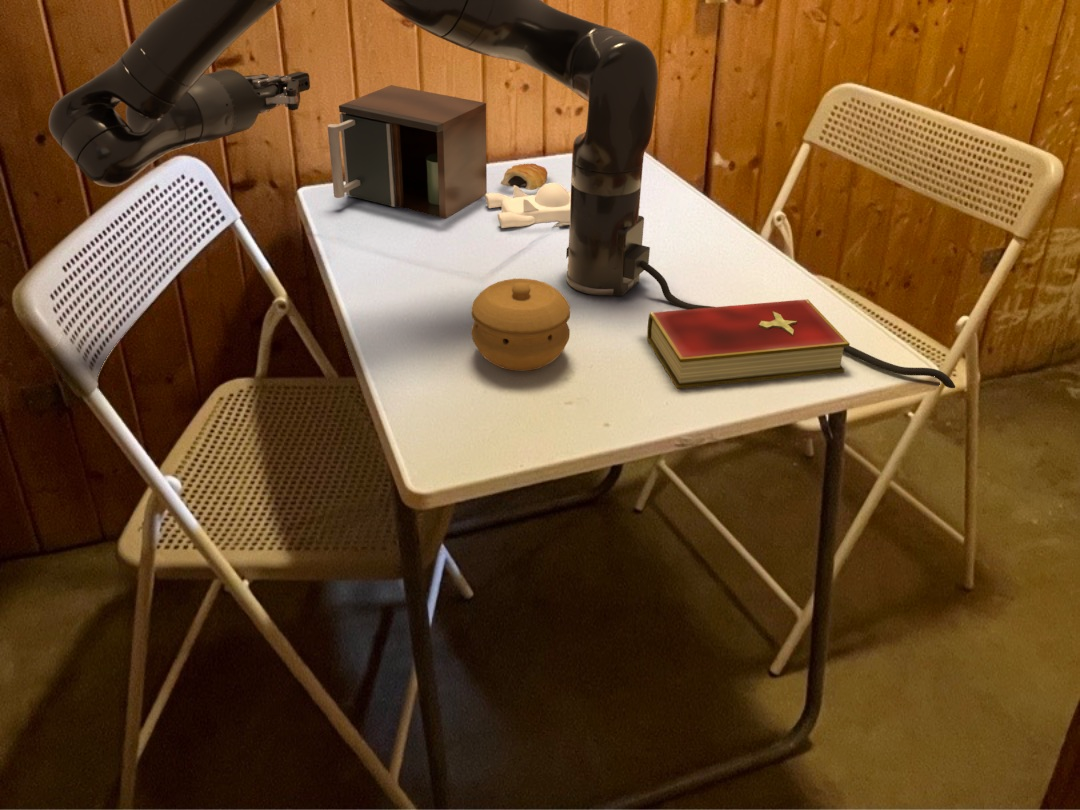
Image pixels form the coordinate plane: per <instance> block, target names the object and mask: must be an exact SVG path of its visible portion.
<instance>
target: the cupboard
mask: <svg viewBox="0 0 1080 810" xmlns="http://www.w3.org/2000/svg"><path fill="white" fill-rule="evenodd" d="M338 112H339V113H345V114H350V115H354V116H359V117H364V118H369V119H374V120H379V121H383V122H388V123H392V135H393V151H394V168H395V185H396V202H397V206H395V207H396V208H401V209H405V210H409V211H412V212H416V213H421V214H424V215H428V216H433V217H437V218H441V219H445V220H446V219H448V218H451V216H453V215H455V214H457V213H458V212H460V211H462V210H463V209H465V208H466V207H468V206H470V205H472V204H473V203H475V202H476V201H479V200H480V199H482V198H483V197H485V194H487V193H488V183H487V180H488V179H487V177H488V176H487V172H488V171H487V167H488V166H487V102H482V101H478V100H472V99H467V98H461V97H458V96H457V97H456V96H451V95H446V94H441V93H440V94H439V93H436V92H430V91H426V90H420V89H414V88H409V87H404V86H398V85H393V84H390V85H388V86H385V87H383V88H380V89H377V90H374V91H372V92H370V93H368V94H365V95H363V96H359V97H357V98H354V99H352V100H350V101H347V102H344V103H342V104H340V105H338ZM434 153H437V158H438V186H439V205H434V204H431V203H429V202H428V195H427V172H426V157H427V156H428V155H430V154H434Z"/></svg>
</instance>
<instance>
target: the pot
mask: <svg viewBox="0 0 1080 810" xmlns="http://www.w3.org/2000/svg"><path fill="white" fill-rule="evenodd" d="M570 310H571V306H570V304H569V302H568V300H567V299H566V297H565V296H564V295H563V294H562V292H560V291H559V290H558V289H556V288H555V287H553V286H552V285H550V284H548V283H545V282H543V281H540V280H536V279H531V278H510V279H504V280H501V281H497V282H495V283H493V284H490V285H489V286H487V287H486V288H484V289H483V290H482V291H481V292H480V293H478V295H477V296H476V298H475V299H474V300H473V302H472V306H471V317H472V320H473V321H474V322H473V324H472V327H471V330H470V333H471V334H470V335H471V338H472V342H473V344H474V345H475V347H476V349H477V350H478V351H479V353H480V354H481V356H483V358H484V359H486V360H487V361H489V362H490V363H491V364H493V365H495V366H497V367H499V368H501V369H505V370H511V371H519V372H520V371H533V370H537V369H540V368H543V367H545V366H547V365H549V364H551V363H552V362H553V361H554V360H556V359H557V358H558V357H559V356H560V355H561V354H562V352H563V351H564V349H565V348H566V346H567V344H568V343H569V340H570V334H571V333H570V332H571V330H570V329H571V328H570V327H569V324H568V321H569V320H570V318H571V311H570Z"/></svg>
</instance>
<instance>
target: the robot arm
mask: <svg viewBox="0 0 1080 810" xmlns="http://www.w3.org/2000/svg"><path fill="white" fill-rule="evenodd" d="M380 1H381V2H382V3H384V4H385V6H388V7H389V8H390V9H392V10H393V11H395V13H397V14H399V15H400V16H401V17H403V18H404V19H406V20H407V21H409V22H410V23H412V24H413V25H414V26H417V27H418V28H419V29H421V30H423V31H425V32H427V33H429V34H431V35H433V36H435V37H437V38H440V39H442V40H444V41H446V42H448V43H451V44H454V45H456V46H458V47H460V48H461V49H462V48H463V49H465V50H468V51H470V52H474V53H477V54H479V55H483V56H487V57H492V58H495V59H498V60H499V59H500V60H504V61H505V60H506V61H511V62H515V63H519V64H523V65H525V66H528V67H531V68H533V69H535V70H537V71H538V72H541V73H542V74H544V75H546V76H548V77H549V78H551V79H553V80H555V81H556V82H558V83H560V84H562V85H563V86H564V87H566V88H568V89H569V90H570V91H572V92H573V93H575V95H577V96H579V97H580V98H581V99H583V100H584V101H586V102H588V106H587V118H586V126H585V127H586V128H585V131H584V132H582V133H580V134H578V135H577V136H576V137H575V138H574V140H573V143H572V155H571V177H570V179H571V180H570V181H571V182H570V191H571V201H570V225H569V226H568V227H569V228H568V229H569V232H568V247H566V257H565V258H566V259H567V271H566V282H567V284H568V285H569V286H570V287H571V288H572V289H574V290H576V291H577V292H581V293H584V294H588V295H593V296H616V297H623V296H624V295H625V294H626V293H627V292H628V291H629V290H631V289H632V288H633V287H634V286H635V285H636V284H637V283H638V282H639V281H640V275H641V274H642V273H643V272H644V271H645V272H646V273H647V274H649V275H650V276H651V277H652V278H654V280H655V281H656V282H657V283H658V284H659V286H660V289H661V292H662V294H663V296H664V298H665V300H667V301H668V302H669V303H670V304H672V305H673V306H675V307H677V308H678V307H679V308H681V309H683V310H688V309H699V308H711V307H713V306H712V305H711V306H710V305H703V304H702V305H701V304H700V305H699V304H693V303H689V302H685V301H684V300H681V299H680V298H677V296H675V295H674V294H672V292H671V290H670V287H669V284H668V281H667V280H666V279H665V277H664V276H663V275H662V274H661V273H660V272H659V270H657V269H655V268H654V267H653V266H652V265H651V264H650V263H649V262H650V253H651V246H647V245H643V240H644V228H645V227H644V225H645V217H644V216H643V215H640V206H641V205H640V204H641V193H642V191H641V190H642V180H643V166H644V157H645V152H646V150H647V149H648V147H649V144H650V142H651V138H652V135H653V128H654V119H655V113H656V111H655V110H656V104H657V96H658V88H659V87H658V85H659V71H658V70H659V69H658V65H657V64H658V63H657V60H656V57H655V55H654V53H653V52H652V50H651V49H650V48H649V47H648V45H646V44H645V43H644V42H642V41H640V40H639V39H636V38H635V37H632V36H630V35H628V34H626V33H624V32H622V31H620V30H618V29H615V28H612V27H609V26H605V25H602V24H598V23H595V22H591V21H590V20H589V21H588V20H586V19H583V18H580V17H577V16H574V15H572V14H570V13H567V12H564V11H562V10H559V9H557V8H555V7H553V6H551V5H549V4H547V3H546V2H544V1H543V0H380ZM280 2H282V0H178V1H177V2H175V3H174V4H172V5H171V6H169V7H168V8H166V9H165V10H164V11H163V12H161V13H160V14H159V15H157V17H156V18H154V19H153V20H152V21H151V22H150V23H149V24H148V25H147V26H146V27H145V28H144V29H143V31H141V33H140V34H139V35H138V36H137V37H136V39H134V41H133V42H132V43H131V44H130V45H129V46H128V48H127V49H126V50H125V51H124V53H123V54H122V55H121V56H120V57H119V58H118V59H117V61H115V62H114V63H113V64H112V65H110V66H109V67H108V68H107V69H105V70H104V71H102V72H100V73H99V74H98V75H96V76H95V77H93V78H92V79H90V80H89V81H87V82H85V83H84V84H82V85H80V86H79V87H76V88H74V89H73V90H71V91H70V92H68V93H66V94H65V95H63V96H62V97H61V98H59V99H58V100H57V101H56V102H55V104H54V105H53V107H52V109H51V110H50V113H49V116H48V129H49V132H50V134H51V136H52V138H53V139H54V140H55V141H56V142H57V144H59V145H60V147H61V148H62V149H63V151H65V154H67V155H68V156H69V158H70V159H71V160H72V161H73V162H74V163H75V164H76V165H77V167H78V168H79V169H80V170H81V172H82V173H83V174H84V175H85V176H86V177H87V179H89V180H90V181H91V182H92V183H94V184H96V185H99V186H101V187H102V186H103V187H109V188H110V187H119V186H122V185H125V184H126V183H128V182H130V181H131V180H133V179H134V178H136V176H138V174H140V173H141V172H143V170H144V169H146V168H147V167H148V166H150V165H151V164H152V163H154V162H155V161H157V160H158V159H160V158H162V157H163V156H165V155H167V154H168V153H171V152H173V151H176V150H180V149H184V148H187V147H189V146H193V145H197V144H205V143H209V142H212V141H216V140H219V139H222V138H225V137H228V136H231V135H234V134H238V133H241V132H244V131H247V130H249V129H251V128H252V127H253V125H254V124H255V122H256V121H257V119H258V116H259V114H266V113H268V112H270V111H271V110H274V109H275V108H276V107H281V106H283V105H284V107H285V108H287V109H288V111H289V110H290V111H296V110H298V109H299V106H300V102H301V93H302V92H305V91H309V90H310V89H311V80H310V74H309V73H308V72H304V71H296V72H292V73H289V74H285V75H279V74H274V75H271V76H270V75H269V74H266V73H261V74H251V75H250V74H249V75H243V74H242V73H240V71H239V72H238V71H237V70H235V69H230V68H227V69H221V70H217V71H213V72H209V73H206V72H207V71H208V69H209V68H211V66H212V65H213V64H214V63H215V62H216V61H217V60H218V59H219V57H221V55H222V54H223V53H224V52H226V50H227V49H229V48H230V46H232V44H233V43H235V41H237V39H238V38H240V37H241V35H243V34H244V33H245V32H246V31H247V30H248V29H249V28H251V27H252V26H253V25H254V24H255V23H256V22H257V21H258V20H260V19H261V18H263V16H264V15H266V14H267V13H268V12H269V11H270V10H272V9H273V8H274V7H275V6H276V5H277V4H279V3H280ZM120 103H123V104H124V105H125V106H126V108H125V120H124V119H123V117H122V116H121V115H120V114H119V112H117V111H116V108H117V106H118V105H119V104H120ZM843 353H845V354H848V355H850V356H852V357H854V358H856V359H857V360H860V361H862V362H865V363H867V364H869V365H871V366H874V367H876V368H879V369H881V370H883V371H886V372H890V373H892V374H896V375H900V376H901V375H902V376H917V377H918V376H922V377H932V378H934V379H936V380H939V381H940V382H941V383H942V384H943V385H944V386H945V387H946V388H948V389H955V388H956V385H955V383H954V381H953V380H952V379H951V378H950V377H949V375H947V374H946V373H945V372H943V371H941V370H940V369H936V368H931V367H910V366H909V367H906V366H901V365H896V364H893V363H890V362H887V361H886V360H882V359H880V358H877V357H875V356H872V355H870V354H869V353H868V354H867V353H866V352H864V351H862V350H860V349H857V348H856V347H853V346H852V345H849V346H847V347H844V350H843ZM934 376H935V377H934Z"/></svg>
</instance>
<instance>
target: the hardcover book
mask: <svg viewBox="0 0 1080 810" xmlns="http://www.w3.org/2000/svg"><path fill="white" fill-rule="evenodd" d="M647 321H648V322H647V330H646V331H647V333H646V334H647V335H646V336H647V337H646V338H647V342H648V344H649V345H650V347H651V349H652V350H653V352H654V353H655V355H656V356H657V358H658V360H659V361H660V363H661V365H662V367H663V368H664V370H665V371H666V373H667V375H668V376H669V378H670V379H671V381H672V383H673V384H674V386H675V388H676V389H677V390H679V389H689V388H698V387H709V386H717V385H729V384H737V383H738V384H739V383H746V382H747V383H749V382H758V381H767V380H768V381H770V380H776V379H777V380H778V379H788V378H797V377H805V376H806V377H807V376H817V375H827V374H828V375H829V374H838V373H844V372H845V368H844V367H843V365H842V360H843V355H844V352H843V350H844V347H847V346H851V343H850V342H849V341H848V340H847V339H846V338H845V337H844V336H843V335H842V333H841V332H840V331H839V330H838V329H837V328H836V327H835V326H834V325H833V324H832V323H831V322H830V321H829V320H828V319H827V317H826V316H825V315H824V314H822V312H821V311H820V310H819V309H818V308H817V307H816V306H815V305H814V304H813V303H812V302H811V301H810V299H808V298H807V299H806V298H805V299H795V300H794V299H793V300H783V301H782V300H781V301H771V302H760V303H748V304H747V303H746V304H736V305H724V306H723V305H722V306H712V307H711V308H699V309H678V310H667V311H666V310H665V311H655V312H654V311H653V312H649V314H648V320H647Z"/></svg>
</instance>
